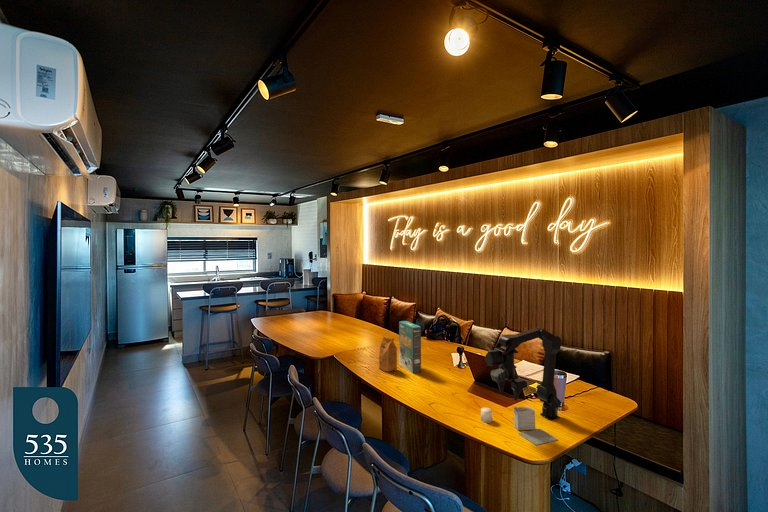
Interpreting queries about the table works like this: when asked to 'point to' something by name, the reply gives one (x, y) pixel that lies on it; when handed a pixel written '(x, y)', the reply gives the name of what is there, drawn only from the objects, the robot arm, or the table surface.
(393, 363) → the coffee package
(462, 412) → the table surface
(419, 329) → the cake mix box
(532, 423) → the medicine box
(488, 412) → the egg
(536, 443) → the mat
